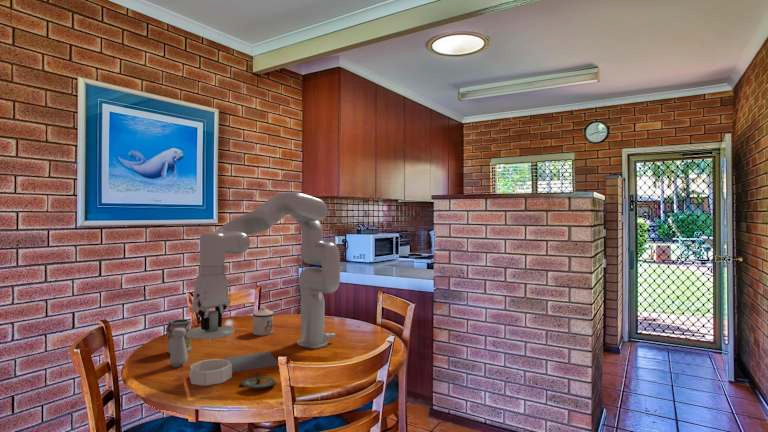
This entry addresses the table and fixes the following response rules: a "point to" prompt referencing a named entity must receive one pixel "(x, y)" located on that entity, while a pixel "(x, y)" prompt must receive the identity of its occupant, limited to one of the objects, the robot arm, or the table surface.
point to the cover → (211, 329)
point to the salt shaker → (178, 348)
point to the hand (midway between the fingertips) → (211, 327)
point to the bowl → (210, 372)
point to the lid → (252, 385)
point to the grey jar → (178, 324)
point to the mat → (252, 361)
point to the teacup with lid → (263, 322)
